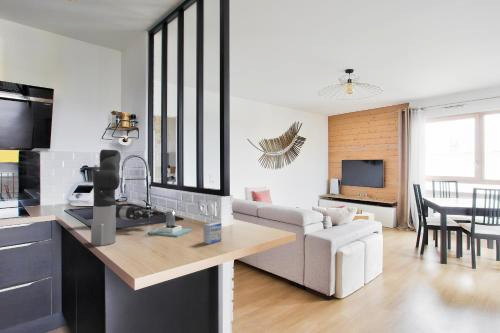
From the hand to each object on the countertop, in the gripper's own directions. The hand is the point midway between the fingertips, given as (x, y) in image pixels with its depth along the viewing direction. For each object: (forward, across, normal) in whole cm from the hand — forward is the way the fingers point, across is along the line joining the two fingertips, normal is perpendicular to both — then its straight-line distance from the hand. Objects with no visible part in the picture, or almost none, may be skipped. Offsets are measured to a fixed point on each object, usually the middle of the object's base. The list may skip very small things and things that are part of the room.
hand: (154, 215), depth 153 cm
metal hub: (+11, 0, +8) cm, 13 cm away
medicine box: (+40, -8, +9) cm, 41 cm away
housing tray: (+11, 0, +8) cm, 14 cm away
